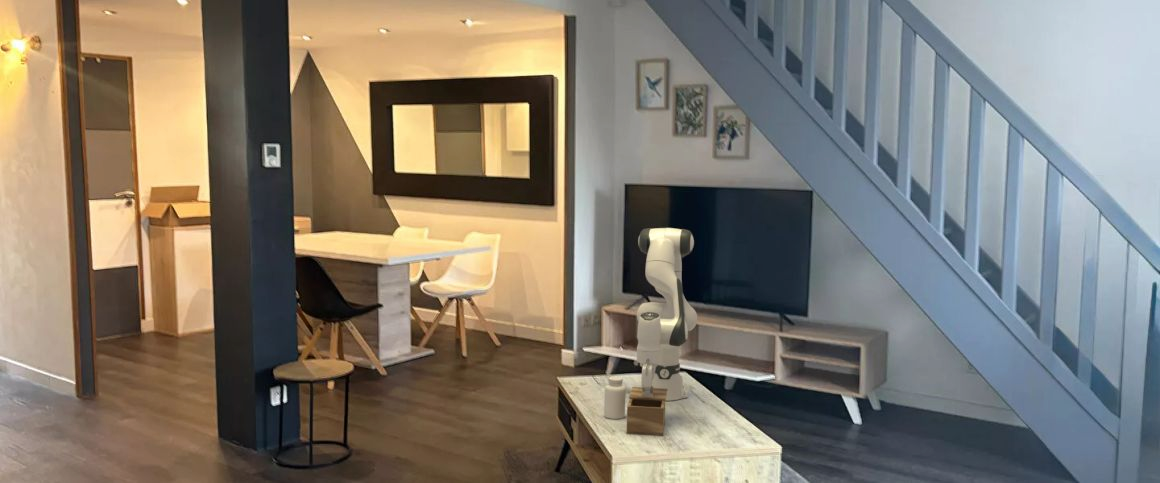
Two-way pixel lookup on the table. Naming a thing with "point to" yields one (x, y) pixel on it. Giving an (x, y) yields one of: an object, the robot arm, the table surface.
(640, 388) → the lid
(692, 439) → the table surface
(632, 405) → the carton
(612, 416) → the pill bottle
